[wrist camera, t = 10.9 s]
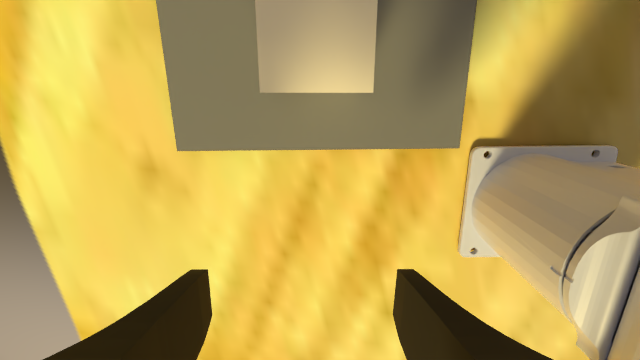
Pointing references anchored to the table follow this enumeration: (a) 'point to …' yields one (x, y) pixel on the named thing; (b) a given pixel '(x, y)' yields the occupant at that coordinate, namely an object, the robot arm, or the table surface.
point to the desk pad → (316, 108)
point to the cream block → (316, 45)
